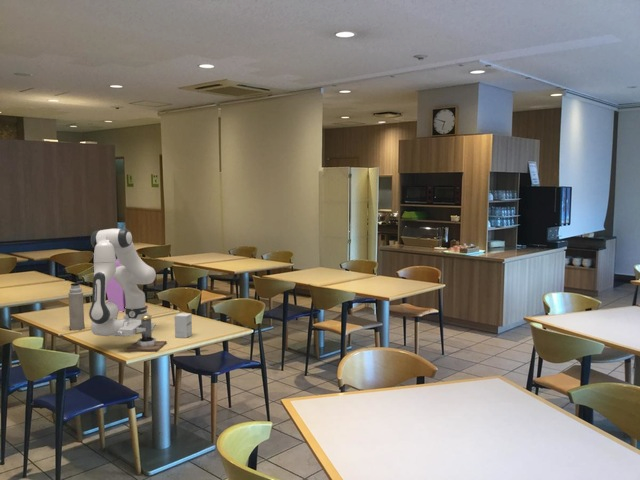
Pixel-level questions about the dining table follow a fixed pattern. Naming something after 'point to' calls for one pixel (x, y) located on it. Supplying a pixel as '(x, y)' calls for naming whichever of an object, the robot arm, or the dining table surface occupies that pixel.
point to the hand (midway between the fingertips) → (148, 327)
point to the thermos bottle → (76, 307)
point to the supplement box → (183, 325)
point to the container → (116, 292)
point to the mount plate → (146, 349)
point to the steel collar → (146, 343)
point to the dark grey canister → (146, 324)
